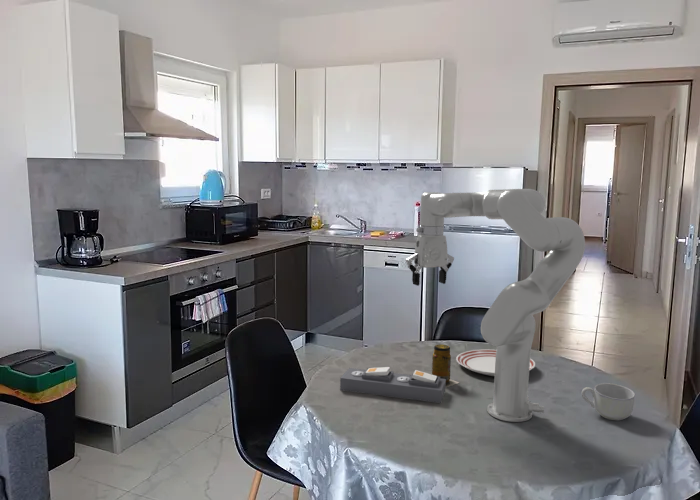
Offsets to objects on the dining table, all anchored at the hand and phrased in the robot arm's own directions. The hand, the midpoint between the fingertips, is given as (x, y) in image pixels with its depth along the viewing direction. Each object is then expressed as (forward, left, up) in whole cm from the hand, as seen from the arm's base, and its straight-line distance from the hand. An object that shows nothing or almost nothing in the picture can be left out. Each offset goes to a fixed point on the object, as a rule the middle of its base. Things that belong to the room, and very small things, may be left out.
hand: (429, 283), depth 186 cm
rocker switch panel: (+9, +10, -33) cm, 36 cm away
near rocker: (-1, +10, -28) cm, 29 cm away
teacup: (-54, +8, -34) cm, 64 cm away
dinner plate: (-21, -23, -34) cm, 46 cm away
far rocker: (+14, +10, -28) cm, 33 cm away
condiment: (-5, -3, -34) cm, 34 cm away
